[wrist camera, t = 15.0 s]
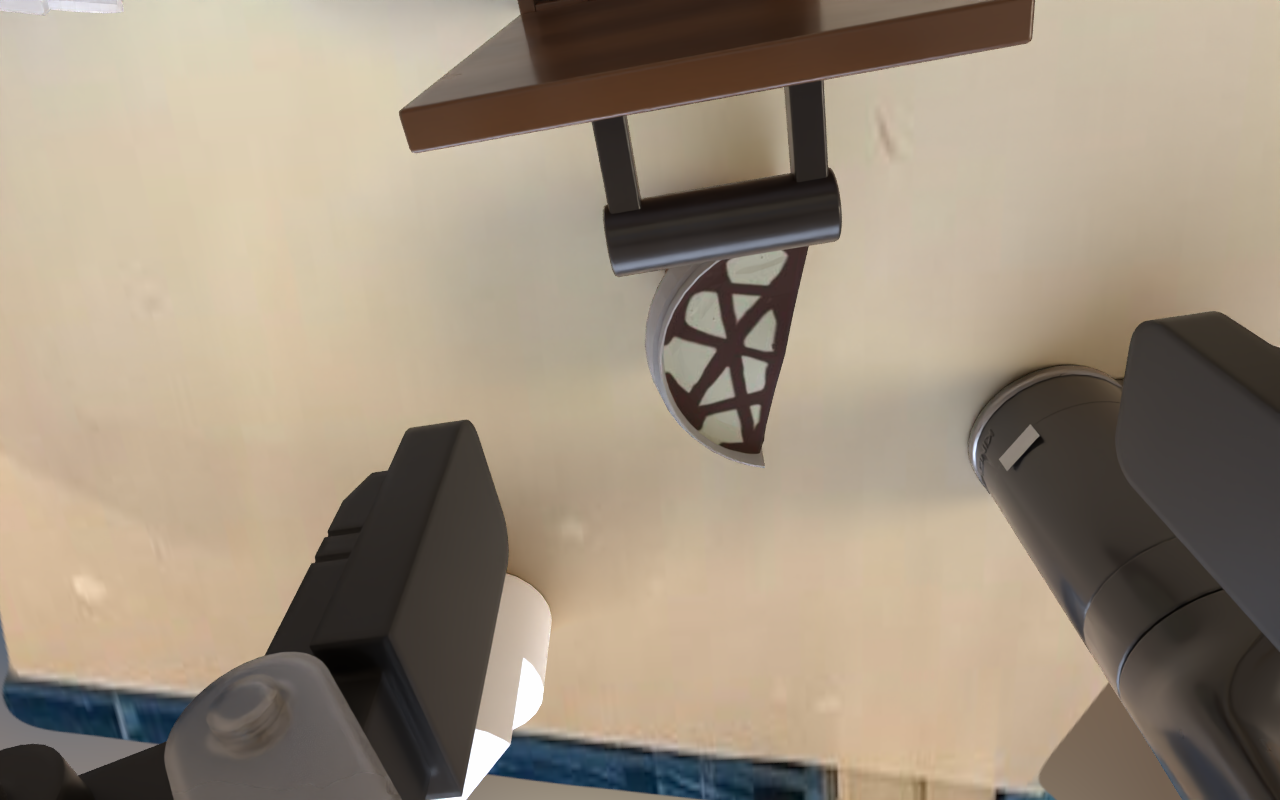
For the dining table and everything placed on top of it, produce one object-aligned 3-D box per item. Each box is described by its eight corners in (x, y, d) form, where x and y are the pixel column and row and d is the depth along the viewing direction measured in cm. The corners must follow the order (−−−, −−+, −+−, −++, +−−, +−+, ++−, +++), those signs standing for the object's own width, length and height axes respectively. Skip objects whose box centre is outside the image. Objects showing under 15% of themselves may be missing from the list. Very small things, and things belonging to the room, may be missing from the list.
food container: (659, 140, 39) (666, 201, 30) (783, 155, 39) (824, 219, 31) (630, 362, 45) (630, 465, 37) (738, 373, 46) (762, 477, 37)
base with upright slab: (515, 679, 59) (490, 840, 48) (400, 634, 56) (348, 794, 46) (575, 601, 55) (561, 758, 44) (453, 550, 52) (409, 703, 42)
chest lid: (395, 110, 14) (467, 338, 17) (1038, -8, 13) (1018, 249, 16) (518, 14, 30) (546, 139, 32) (820, -44, 29) (827, 89, 31)
